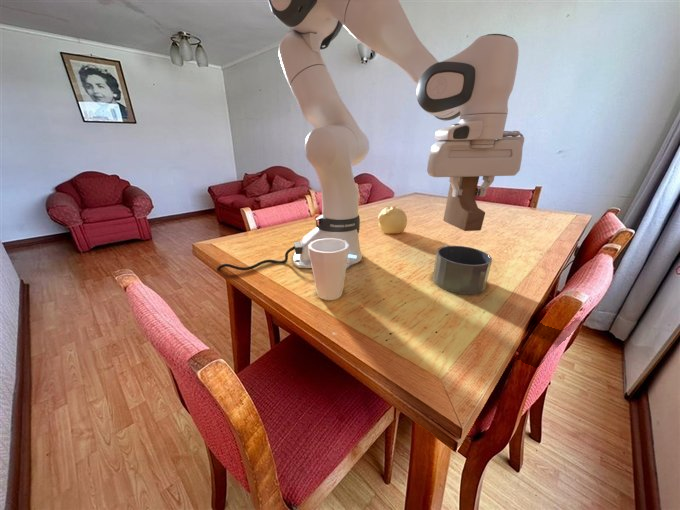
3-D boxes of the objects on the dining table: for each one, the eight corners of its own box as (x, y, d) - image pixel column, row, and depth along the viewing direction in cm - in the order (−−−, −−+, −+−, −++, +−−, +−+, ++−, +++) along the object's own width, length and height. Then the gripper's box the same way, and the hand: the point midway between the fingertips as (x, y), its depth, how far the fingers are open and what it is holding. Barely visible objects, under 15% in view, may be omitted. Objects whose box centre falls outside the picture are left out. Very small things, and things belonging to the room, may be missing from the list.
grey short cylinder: (496, 293, 66) (503, 264, 63) (446, 296, 65) (451, 266, 62) (461, 264, 81) (466, 240, 78) (420, 266, 80) (423, 242, 77)
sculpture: (379, 226, 118) (380, 202, 113) (407, 229, 114) (409, 204, 110) (374, 234, 108) (375, 208, 103) (404, 237, 104) (407, 210, 100)
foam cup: (347, 283, 71) (347, 238, 66) (349, 303, 62) (350, 252, 57) (312, 284, 70) (309, 238, 65) (309, 304, 62) (306, 253, 57)
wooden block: (481, 231, 61) (502, 147, 54) (464, 231, 60) (483, 146, 53) (457, 220, 69) (473, 146, 62) (442, 221, 68) (456, 145, 61)
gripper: (515, 131, 60) (501, 192, 65) (428, 131, 58) (421, 195, 63) (537, 130, 54) (519, 197, 59) (441, 130, 52) (432, 200, 58)
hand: (468, 196), depth 61 cm, fingers closed on wooden block, 4 cm apart
